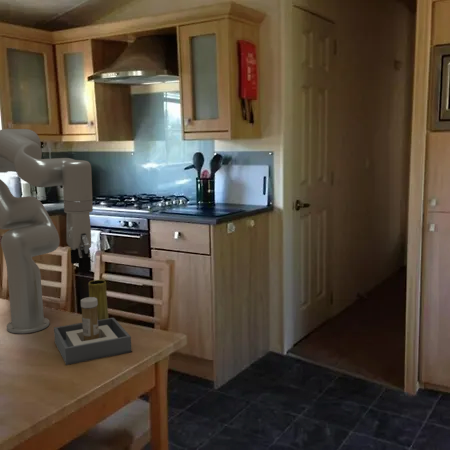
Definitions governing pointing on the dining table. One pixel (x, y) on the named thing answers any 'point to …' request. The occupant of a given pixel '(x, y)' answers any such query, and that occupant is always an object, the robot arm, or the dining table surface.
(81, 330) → the block
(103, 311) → the vase
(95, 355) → the open box
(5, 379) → the dining table surface
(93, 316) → the sprinkles bottle
